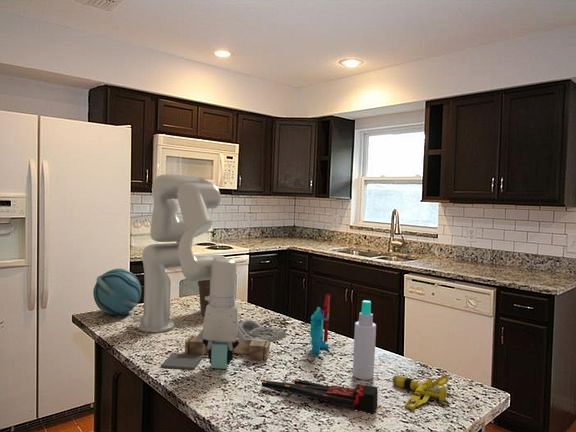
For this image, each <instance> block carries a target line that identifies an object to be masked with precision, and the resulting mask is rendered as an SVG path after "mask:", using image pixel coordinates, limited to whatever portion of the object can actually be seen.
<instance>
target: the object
mask: <svg viewBox="0 0 576 432" xmlns="http://www.w3.org/2000/svg"><path fill="white" fill-rule="evenodd" d="M197 286H198V291H199V306H200V308H199V310H200V314H201V315H202V316H205V311H206V306H207V305H208V304H209V302H208V301H205V296H209V295H210V280H203V281H197Z"/></svg>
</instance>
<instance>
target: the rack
mask: <svg viewBox="0 0 576 432" xmlns="http://www.w3.org/2000/svg"><path fill="white" fill-rule="evenodd" d="M197 336H198V335H195V334H191V335H190V336H189V337H188V338H187V339H186V340H185V341H184V354H191V355H203V357H204V356H205V355H206V354H207V353H208V349H207V347H206V346H205V344H204V343H203V342H202V341H201V340H199V339H198V338H197ZM238 339H239V338H237V339H236V340H238ZM236 340H235V341H236ZM235 341H234V342H235ZM270 345H271V342H270V340H257V339H245V341H244V342H242V343H240V344H239V345H238V346H237V347H235V348H234V349H233V354H234V353H235V354H248V360H251V361H252V360H253V361H264V362H268V359H269V356H270Z"/></svg>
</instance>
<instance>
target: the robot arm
mask: <svg viewBox="0 0 576 432" xmlns="http://www.w3.org/2000/svg"><path fill="white" fill-rule="evenodd" d="M151 190H152V191H151V193H152V199H153V208H152V214H151V223H150V229H149V230H150V232H149V234H150V238H151V239H152V240H153V241H154V242H156V243H152V244H148V245H146V246H145V247H144V248H143V250H142V254H141V258H142V264H143V276H144V277H143V278H144V280H143V281H144V282H143V283H144V285H143V287H144V289H143V314H142V315H137V314H135V315H133V316H132V318H133V319H132V320H133V322H134V323H137V322H139V324H138V329H139V330H140V331H141V332H145V333H162V332H163V333H164V332H168V331H170V330H173V328H174V327H175V326H174V325H175V324H174V322H173V321H171V319H170V318H171V285H172V282H171V278H170V276H169V275H168V274H167V272H166V270H168V269H178V268H180V270H181V272H182V275H183V276H184V278H185V279H186V280H187V281H189V282H198V281H203V280H210V295H209V296H205V301H208V302H209V304H208V305H207V306H206V311H205V315H204V317H203V319H204V320H203V327H202V330H201V331H199V333H198V334H197V335H196V336H197V338H198V339H199V340H201V341H202V342H203V343H204V344H205V346H206V347H207V349H208V351H207V359H208V360H209V363H210V364H211V352H212V343H213V342H214V341H223V342H228V347H229V348H228V351H227V364H229V365H230V364H231V362H232V361H233V359H234V353H233V349H234V348H235V347H237V346H238V345H239V344H240V343H242V342H244V341H245V337H244V335H243V334H242V332H241V331H240V329H239V321H240V316H239V309H238V305H237V304H236V296H237V295H236V293H237V267H238V265H237V261H236V260H234V259H232V258H227V257H226V256H224V255H222V254H206V255H205V254H203V255H194V254H193V251H192V247H193V243H194V242H193V241H194V239H195V238H196V237H198V236H200V235H203V234H204V233H206V232H208V231H209V230H210V229H211V228H212V226H213V221H212V218H211V214H210V212H209V210H210V209H213V210H214V209H216V208H218V206H220V203H221V199H222V197H221V192H220V190H219V188H218V186H216V184H214V183H213V182H211V181H209V180H207V179H205V178H203V177H201V176H195V175H182V174H161V175H157V176H156V177H155V178H154V180H153V182H152V186H151ZM177 201H178V202H177ZM178 205H179V206H178ZM179 208H180V212H181V215H178V209H179ZM237 337H239V339H238V340H236V339H237ZM235 340H236V341H235ZM234 341H235V342H234Z"/></svg>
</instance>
